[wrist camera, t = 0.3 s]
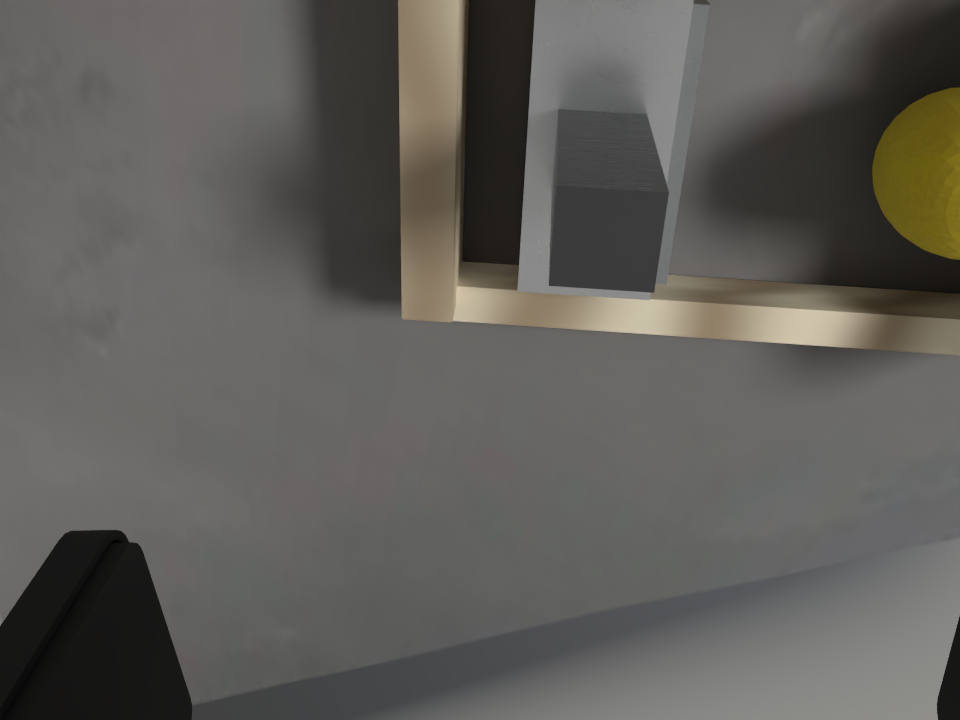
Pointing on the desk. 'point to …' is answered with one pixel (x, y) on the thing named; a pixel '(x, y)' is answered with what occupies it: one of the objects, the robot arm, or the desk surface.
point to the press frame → (670, 311)
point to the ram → (607, 143)
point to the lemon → (923, 173)
